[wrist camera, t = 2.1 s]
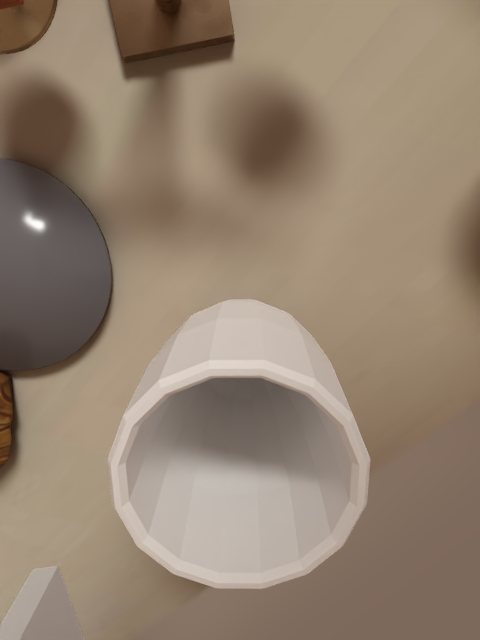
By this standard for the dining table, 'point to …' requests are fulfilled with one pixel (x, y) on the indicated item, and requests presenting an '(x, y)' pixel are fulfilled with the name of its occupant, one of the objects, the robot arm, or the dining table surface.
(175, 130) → the dining table surface
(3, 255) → the grey flat disc
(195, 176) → the dining table surface
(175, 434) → the cup
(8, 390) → the croissant
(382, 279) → the dining table surface
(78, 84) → the dining table surface
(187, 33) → the balance
